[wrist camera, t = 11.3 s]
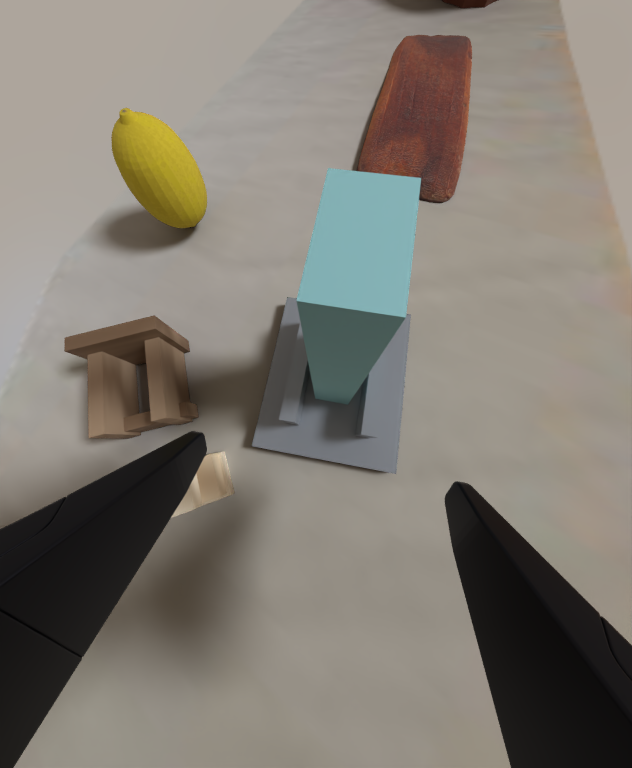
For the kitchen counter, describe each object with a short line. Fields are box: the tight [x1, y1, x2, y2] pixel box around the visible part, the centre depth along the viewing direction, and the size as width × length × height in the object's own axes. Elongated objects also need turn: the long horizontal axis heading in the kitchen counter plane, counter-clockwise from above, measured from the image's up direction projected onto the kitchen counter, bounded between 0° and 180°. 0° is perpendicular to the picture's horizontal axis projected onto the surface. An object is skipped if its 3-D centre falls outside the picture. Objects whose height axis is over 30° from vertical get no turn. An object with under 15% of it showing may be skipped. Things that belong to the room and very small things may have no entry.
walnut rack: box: [65, 316, 199, 438], centre depth 16 cm, size 7×6×4 cm
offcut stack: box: [171, 452, 234, 518], centre depth 15 cm, size 3×8×3 cm, turn 109°
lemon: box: [112, 108, 207, 228], centre depth 18 cm, size 6×6×8 cm
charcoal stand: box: [252, 297, 411, 474], centre depth 16 cm, size 12×10×4 cm
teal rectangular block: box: [296, 168, 421, 405], centre depth 11 cm, size 4×2×12 cm, turn 169°
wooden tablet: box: [357, 35, 472, 203], centre depth 25 cm, size 27×10×2 cm, turn 165°
